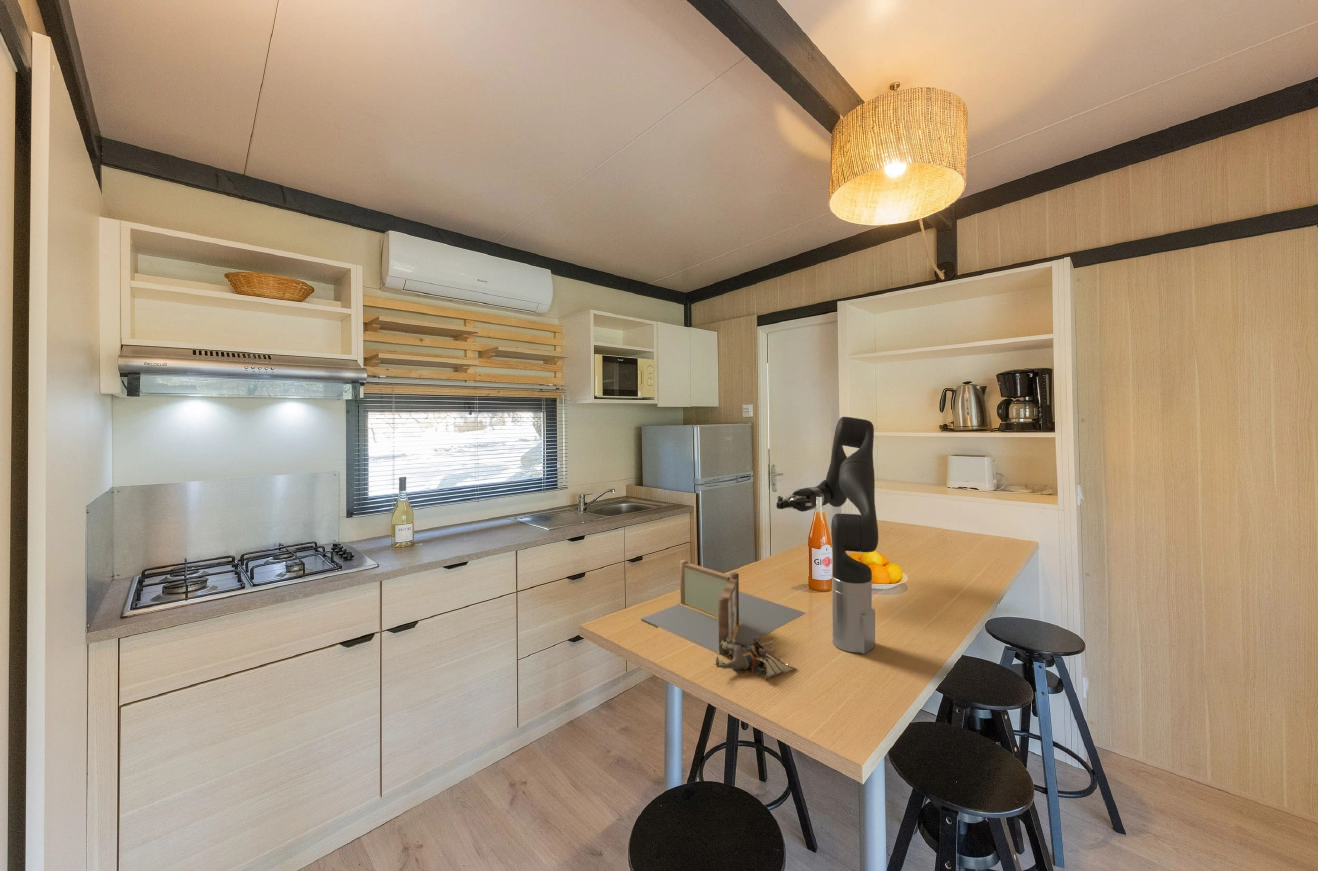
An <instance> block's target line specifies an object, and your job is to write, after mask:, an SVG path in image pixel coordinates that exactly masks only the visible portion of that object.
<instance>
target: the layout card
mask: <svg viewBox="0 0 1318 871" xmlns="http://www.w3.org/2000/svg"><path fill="white" fill-rule="evenodd" d="M805 614H806V611H805V612H804V611H801V610H798V609H795V608H793V607H790V606H789V607H788V606H785V605H782V604H780V603H776V602H774V601H770V600H767V599H764V598H761V597H757V596H754V595H752V594H748V593H745V592H741V591H739V624H738V625H736V627H735V630H734V633H733V636H732V638H731V639H735V640H737V641H748V642H750V643H751V642H753V640H754V639H755V638H756V639H760V638H763V637H764V636H765V635H767V634H770V633H771V632H773V631H775V630H777V629H779V628H780V627H783V626H784V625H786V624H788V623H790V622H792V621H793V620H795V619H798V618H799V617H801V616H804V615H805ZM642 620H643V621H642ZM640 621H642V622H644V623H647V624H649V625H651V626H653V627H656V628H661V629H663V630H666V631H667V632H670V633H672V634H674V635H676V636H678V637H681V638H683V639H685V640H687V641H689V642H692V643H694V644H696V645H698V646H700V647H703V648H705V649H707V650H709V651H710V652H712V653H713V652H714V653H716V654H717V655H720V653H719V617H716V616H714V615H711V614H709V613H706V612H704V611H701V610H699V609H696V608H694V607H691V606H689V605H686V604H682V603H681V602H680V603H678V604H675V605H673V606H670V607H668V608H667V607H666V608H665V609H662V610H659V611H656V612H654V613H651V614H649V615H646V616H643V617H642V618H640ZM730 644H731V643H730ZM731 645H732V644H731ZM733 645H738V644H733ZM738 646H740V647H742V646H741V645H738ZM730 655H731V654H730V653H729V654H727V655H721V656H722V657H726V656H730Z"/></svg>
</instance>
